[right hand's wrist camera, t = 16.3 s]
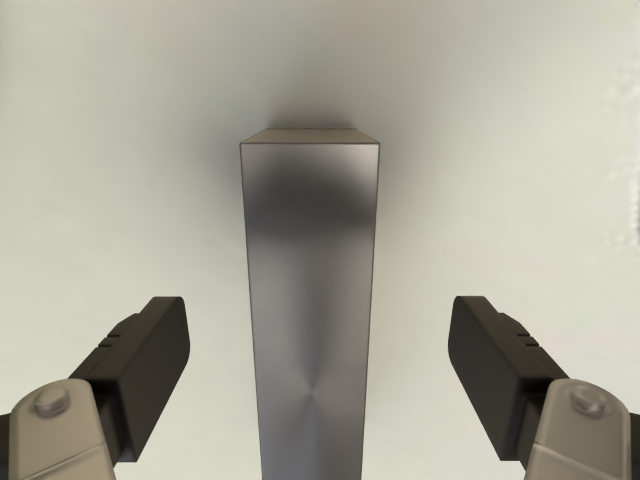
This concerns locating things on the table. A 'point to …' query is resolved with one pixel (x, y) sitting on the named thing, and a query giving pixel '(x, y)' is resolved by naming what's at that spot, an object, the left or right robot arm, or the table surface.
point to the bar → (310, 295)
